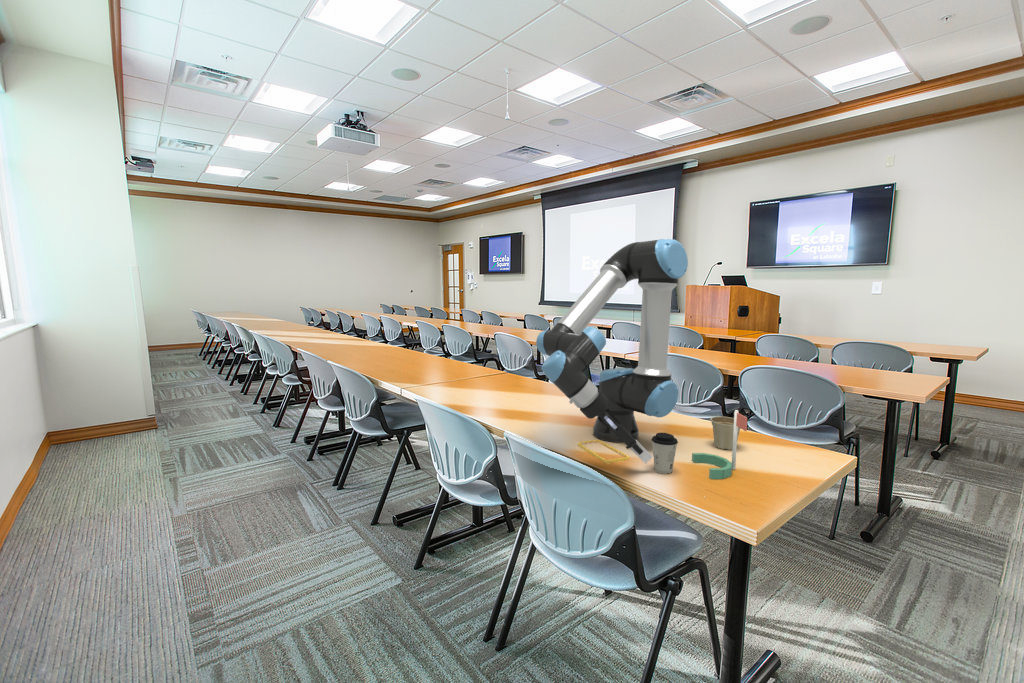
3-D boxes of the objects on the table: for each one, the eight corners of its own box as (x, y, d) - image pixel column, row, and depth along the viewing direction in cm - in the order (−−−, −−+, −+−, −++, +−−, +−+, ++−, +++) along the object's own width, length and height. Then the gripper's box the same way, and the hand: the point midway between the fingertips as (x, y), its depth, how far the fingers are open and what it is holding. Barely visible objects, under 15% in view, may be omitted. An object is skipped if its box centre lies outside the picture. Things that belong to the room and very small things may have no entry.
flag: (730, 468, 126) (733, 409, 124) (734, 468, 126) (737, 409, 124) (741, 477, 120) (745, 415, 118) (745, 477, 120) (748, 415, 118)
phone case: (598, 443, 149) (598, 439, 149) (630, 461, 133) (630, 457, 133) (576, 446, 146) (576, 442, 145) (606, 465, 130) (606, 461, 130)
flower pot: (745, 446, 144) (747, 420, 143) (736, 454, 137) (738, 426, 136) (714, 440, 150) (716, 414, 149) (704, 447, 143) (706, 420, 142)
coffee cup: (680, 475, 122) (682, 439, 120) (655, 475, 121) (656, 439, 120) (671, 465, 128) (672, 431, 127) (646, 465, 128) (647, 431, 127)
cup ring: (691, 461, 132) (692, 453, 131) (718, 461, 132) (718, 452, 131) (711, 479, 119) (711, 470, 119) (740, 478, 119) (740, 469, 119)
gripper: (575, 402, 128) (631, 459, 130) (582, 415, 115) (645, 478, 117) (594, 384, 128) (650, 442, 130) (604, 395, 115) (666, 459, 117)
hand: (648, 459), depth 123 cm, fingers closed
